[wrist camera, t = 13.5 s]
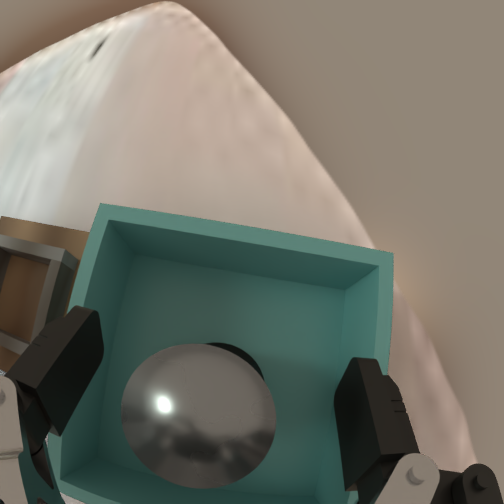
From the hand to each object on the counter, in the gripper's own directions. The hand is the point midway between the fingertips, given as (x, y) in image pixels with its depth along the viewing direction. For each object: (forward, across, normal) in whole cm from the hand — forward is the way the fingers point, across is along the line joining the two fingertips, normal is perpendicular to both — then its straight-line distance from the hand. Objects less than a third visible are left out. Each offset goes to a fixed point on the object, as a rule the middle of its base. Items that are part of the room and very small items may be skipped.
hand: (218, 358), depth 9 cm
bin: (+6, 0, +8) cm, 10 cm away
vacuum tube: (+5, 0, +7) cm, 9 cm away
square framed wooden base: (+7, +14, +6) cm, 17 cm away
